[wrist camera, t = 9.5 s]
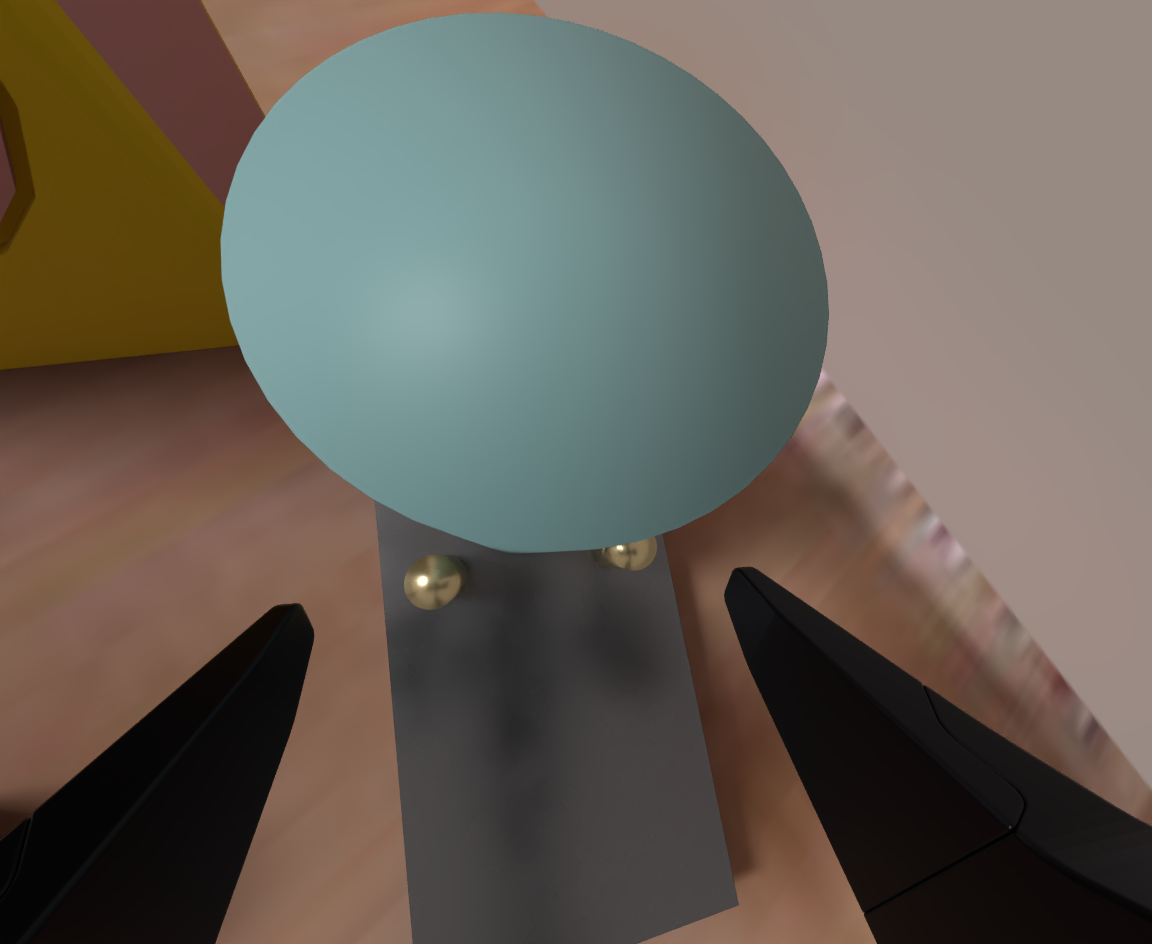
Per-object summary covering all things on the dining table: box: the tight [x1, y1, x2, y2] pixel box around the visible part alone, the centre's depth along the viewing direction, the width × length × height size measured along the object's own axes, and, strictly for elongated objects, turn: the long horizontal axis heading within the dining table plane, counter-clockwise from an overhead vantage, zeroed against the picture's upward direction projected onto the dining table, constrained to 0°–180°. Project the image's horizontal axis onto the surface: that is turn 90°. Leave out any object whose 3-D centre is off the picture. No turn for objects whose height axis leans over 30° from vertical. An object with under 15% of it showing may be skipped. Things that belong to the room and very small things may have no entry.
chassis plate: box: [375, 500, 739, 944], centre depth 15 cm, size 21×11×4 cm, turn 10°
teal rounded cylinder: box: [221, 13, 829, 554], centre depth 10 cm, size 6×6×13 cm
